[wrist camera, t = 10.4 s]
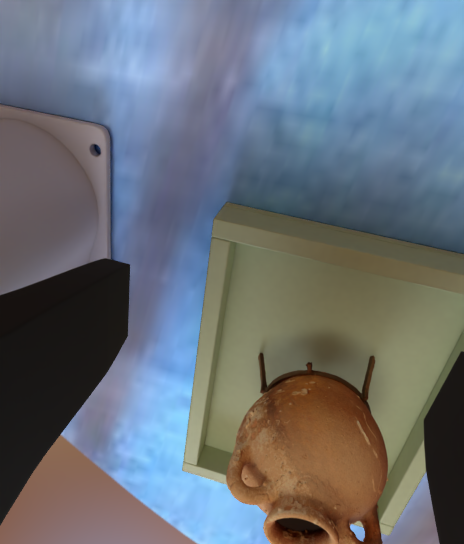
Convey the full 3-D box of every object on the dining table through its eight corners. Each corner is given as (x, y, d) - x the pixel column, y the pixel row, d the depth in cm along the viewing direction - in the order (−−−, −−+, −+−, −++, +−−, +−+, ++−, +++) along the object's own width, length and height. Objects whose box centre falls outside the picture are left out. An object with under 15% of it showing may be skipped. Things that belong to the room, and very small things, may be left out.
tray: (386, 501, 25) (389, 536, 23) (193, 442, 26) (181, 470, 24) (513, 264, 17) (532, 290, 15) (226, 201, 18) (213, 218, 17)
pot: (387, 416, 22) (372, 317, 18) (404, 603, 15) (386, 501, 12) (273, 417, 24) (242, 328, 20) (245, 583, 17) (194, 490, 14)
